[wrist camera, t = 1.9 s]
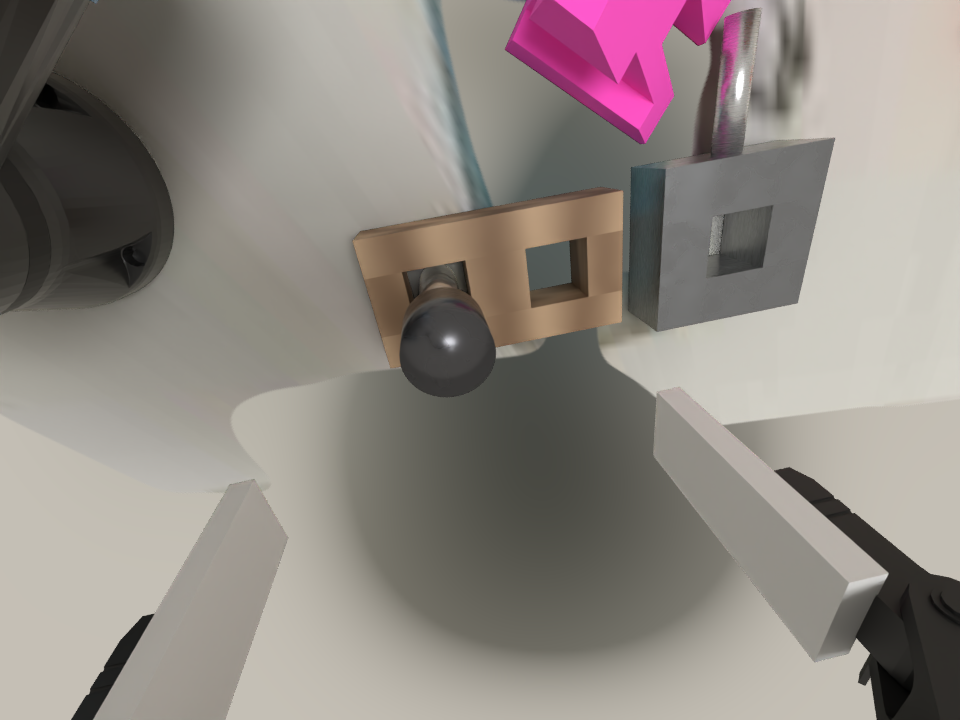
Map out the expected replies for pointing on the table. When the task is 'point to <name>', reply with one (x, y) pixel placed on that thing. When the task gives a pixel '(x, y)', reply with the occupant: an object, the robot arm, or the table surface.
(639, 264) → the block
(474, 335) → the dark knobbed metal peg
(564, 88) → the bracket
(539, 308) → the stand
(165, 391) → the table surface
